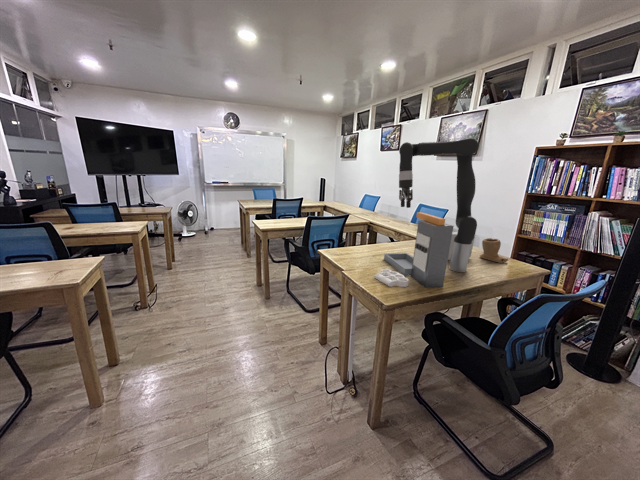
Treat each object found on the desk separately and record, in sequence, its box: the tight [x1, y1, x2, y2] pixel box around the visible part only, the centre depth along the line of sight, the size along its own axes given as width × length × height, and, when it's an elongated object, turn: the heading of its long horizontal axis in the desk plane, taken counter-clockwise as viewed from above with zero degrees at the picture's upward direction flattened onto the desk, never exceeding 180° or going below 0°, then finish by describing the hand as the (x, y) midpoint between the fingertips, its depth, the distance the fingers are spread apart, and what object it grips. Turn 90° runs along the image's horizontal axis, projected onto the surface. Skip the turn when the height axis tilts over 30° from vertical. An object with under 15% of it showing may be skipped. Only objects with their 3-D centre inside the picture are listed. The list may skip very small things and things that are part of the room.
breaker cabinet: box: [410, 219, 454, 289], centre depth 130 cm, size 14×11×32 cm
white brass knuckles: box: [373, 268, 410, 288], centre depth 134 cm, size 3×18×15 cm
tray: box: [383, 252, 414, 276], centre depth 155 cm, size 27×16×4 cm, turn 10°
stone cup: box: [479, 237, 509, 264], centre depth 170 cm, size 15×12×15 cm
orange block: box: [416, 211, 446, 225], centre depth 130 cm, size 20×3×3 cm, turn 10°
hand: (405, 207), depth 149 cm, fingers open, 8 cm apart
